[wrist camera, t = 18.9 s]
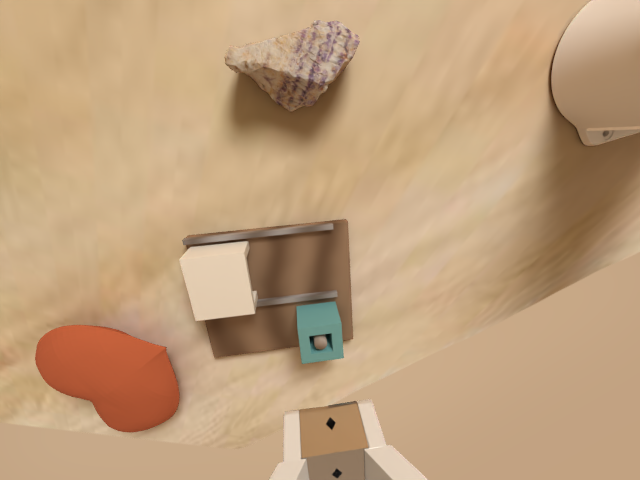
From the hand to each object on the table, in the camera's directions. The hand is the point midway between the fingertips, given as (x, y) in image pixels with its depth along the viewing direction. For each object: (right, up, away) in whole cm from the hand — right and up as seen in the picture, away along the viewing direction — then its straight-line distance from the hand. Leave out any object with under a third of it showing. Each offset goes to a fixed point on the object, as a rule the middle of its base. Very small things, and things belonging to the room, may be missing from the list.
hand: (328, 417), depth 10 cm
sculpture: (-27, -10, +32) cm, 43 cm away
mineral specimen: (-3, +25, +22) cm, 33 cm away
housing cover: (-12, +2, +27) cm, 30 cm away
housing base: (-6, -1, +31) cm, 31 cm away
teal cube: (-1, -5, +32) cm, 32 cm away
